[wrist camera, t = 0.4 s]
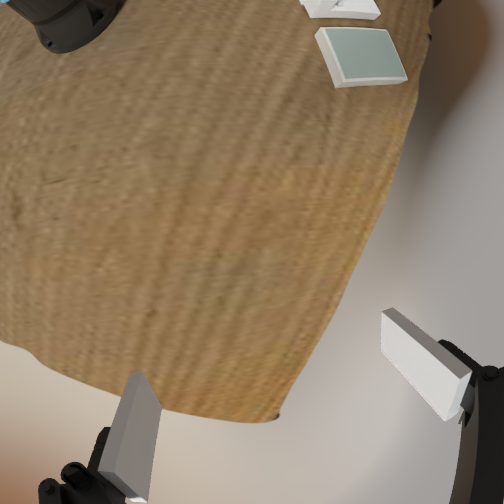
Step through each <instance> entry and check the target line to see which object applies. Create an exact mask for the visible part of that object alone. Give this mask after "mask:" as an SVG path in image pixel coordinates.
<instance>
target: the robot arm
mask: <svg viewBox="0 0 504 504" xmlns="http://www.w3.org/2000/svg"><path fill="white" fill-rule="evenodd" d="M1 2H2V3H6V4H7V5H8V6H10V7H11V8H12V9H14V10H15V11H16V12H18V13H19V14H20V15H22V16H23V17H24V18H25V19H27V20H28V21H30V22H31V23H32V24H33V25H34V27H35V30H36V32H37V35H38V37H39V40H40V42H41V44H42V45H43V46H44V47H45V48H46V49H48V50H49V51H51V52H53V53H59V54H60V53H67V52H71V51H73V50H76V49H78V48H80V47H82V46H84V45H86V44H87V43H89V42H90V41H92V40H93V39H94V38H96V37H97V36H98V35H99V34H100V33H101V32H102V31H103V30H104V29H105V28H106V27H107V26H108V25H109V24H110V22H111V21H112V19H113V18H114V16H115V14H116V12H117V10H118V6H119V0H1ZM381 327H382V328H381V352H382V353H383V354H384V355H385V356H386V357H387V358H388V359H389V360H390V362H391V363H392V364H393V365H394V366H395V367H396V368H397V369H398V370H399V371H400V372H401V373H402V374H403V376H404V377H405V378H406V379H407V380H408V381H409V382H410V383H411V384H412V386H413V387H414V388H415V389H416V390H417V391H418V392H419V393H420V394H421V395H422V397H423V398H424V399H425V400H426V401H427V402H428V403H429V404H430V406H431V407H432V408H433V409H434V410H435V411H436V412H437V414H438V415H439V416H440V417H441V418H442V419H443V420H444V422H445V421H447V420H448V419H450V418H451V417H453V416H454V415H456V414H457V412H458V410H459V407H460V405H461V406H462V407H463V408H464V411H463V413H462V416H461V418H460V420H459V424H460V423H461V421H462V431H461V441H460V450H459V457H458V463H457V470H456V475H455V480H454V485H453V490H452V494H451V498H450V502H449V504H503V500H504V367H502V368H499V369H498V368H497V367H494V366H484V367H482V366H481V365H479V364H478V363H477V362H476V361H474V360H473V359H472V358H471V357H469V356H468V355H467V354H466V353H463V351H462V350H460V349H458V347H457V346H455V345H454V344H453V343H451V342H449V341H446V340H443V339H442V340H440V341H438V342H436V341H435V340H434V339H433V338H431V337H430V336H429V335H428V334H426V333H425V332H424V331H422V330H421V329H420V328H419V327H418V326H416V325H415V324H414V323H412V322H411V321H410V320H408V319H407V318H406V317H404V316H403V315H402V314H401V313H399V312H398V311H397V310H395V309H394V308H390V309H387V310H385V311H382V326H381ZM161 410H162V406H161V404H160V403H159V401H158V399H157V397H156V396H155V394H154V392H153V390H152V388H151V386H150V385H149V383H148V381H147V379H146V377H145V375H144V373H143V372H137V373H130V376H129V378H128V381H127V384H126V386H125V389H124V392H123V395H122V397H121V400H120V403H119V406H118V409H117V412H116V414H115V417H114V420H113V423H112V426H111V427H104V428H103V430H102V431H101V432H100V433H99V435H98V437H97V440H96V444H95V446H94V450H93V452H92V455H91V458H90V461H89V464H88V467H87V468H86V467H85V466H83V464H81V463H79V462H71V463H69V464H67V465H66V466H65V467H64V468H63V469H62V472H61V479H62V480H63V481H64V482H65V483H66V484H59V483H58V482H57V481H56V480H55V479H52V478H47V479H45V480H43V481H42V482H41V483H40V485H39V488H38V493H39V504H126V503H125V498H126V497H127V498H129V499H130V500H131V501H133V502H146V503H147V502H148V495H149V487H150V479H151V472H152V465H153V458H154V452H155V445H156V439H157V433H158V427H159V421H160V415H161Z"/></svg>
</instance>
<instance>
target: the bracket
mask: <svg viewBox="0 0 504 504" xmlns="http://www.w3.org/2000/svg"><path fill="white" fill-rule="evenodd" d="M299 1H300V2H301V4H302V5H304V6H305V8H306V10H307V12H308V14H309V16H310V18H355V19H369V20H375V19H376V18H377V17H378V16H379V15H381V13H380V11H379V9H378V7H377V6H376V4H375V2H374V0H299Z"/></svg>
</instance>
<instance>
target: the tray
mask: <svg viewBox="0 0 504 504" xmlns="http://www.w3.org/2000/svg"><path fill="white" fill-rule="evenodd" d="M315 38H316V40H317V43H318V45H319V47H320V50H321V52H322V55H323V57H324V59H325V62H326V65H327V67H328V70H329V72H330V75H331V78H332V80H333V83H334V86H335V88H342V87H353V86H367V85H387V84H400V83H402V82H404V81H407V80H408V78H407V76H406V73H405V70H404V68H403V65H402V63H401V60H400V58H399V56H398V53H397V51H396V49H395V46H394V44H393V42H392V40H391V38H390V35H389V33H388V31H387V30H385V29H373V28H355V27H321V28H320V29H319V30H318V32H317V33H316V34H315Z"/></svg>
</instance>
